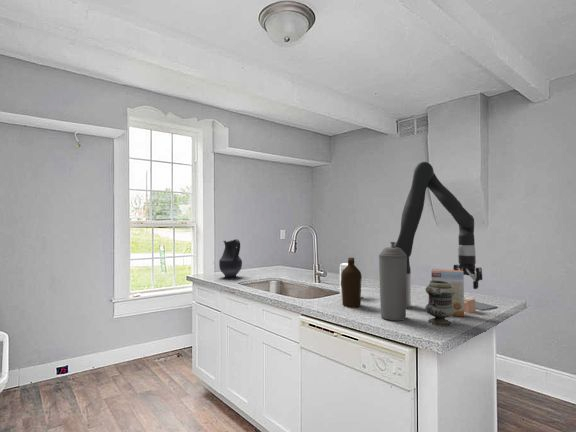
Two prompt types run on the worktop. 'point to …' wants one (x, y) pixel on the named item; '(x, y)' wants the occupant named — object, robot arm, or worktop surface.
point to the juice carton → (342, 267)
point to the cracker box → (456, 283)
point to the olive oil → (351, 285)
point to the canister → (393, 282)
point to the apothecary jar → (440, 302)
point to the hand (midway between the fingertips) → (467, 287)
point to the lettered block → (469, 305)
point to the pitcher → (231, 259)
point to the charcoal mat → (483, 306)
